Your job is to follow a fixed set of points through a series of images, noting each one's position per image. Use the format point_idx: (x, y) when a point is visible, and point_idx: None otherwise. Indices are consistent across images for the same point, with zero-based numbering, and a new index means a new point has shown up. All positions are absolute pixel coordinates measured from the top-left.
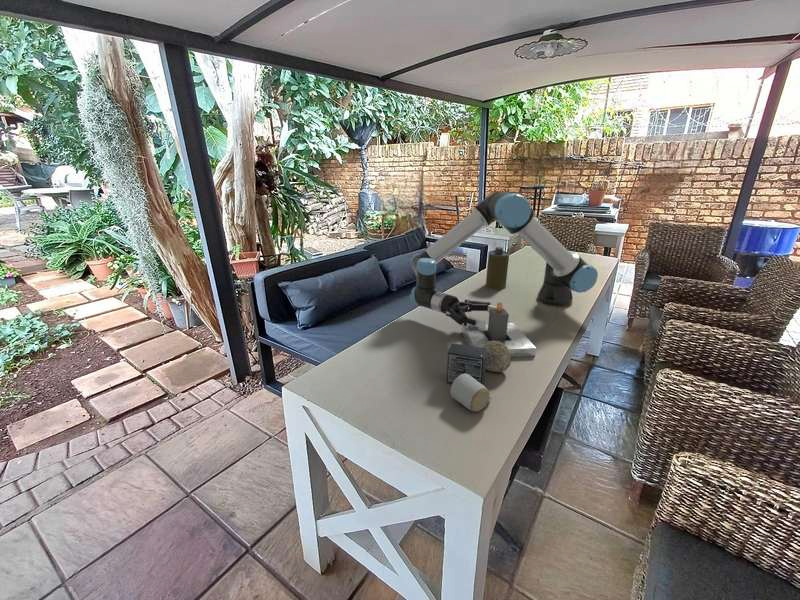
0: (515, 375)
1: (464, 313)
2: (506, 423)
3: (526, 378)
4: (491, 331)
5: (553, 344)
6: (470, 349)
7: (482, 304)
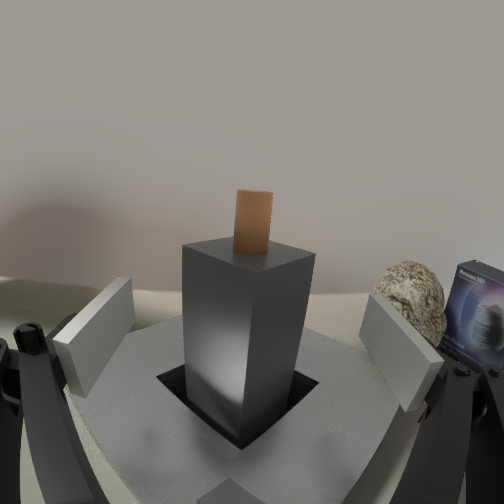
0: (358, 322)
1: (444, 417)
2: (444, 297)
3: (345, 310)
4: (286, 366)
5: (137, 303)
6: (495, 272)
7: (40, 388)
